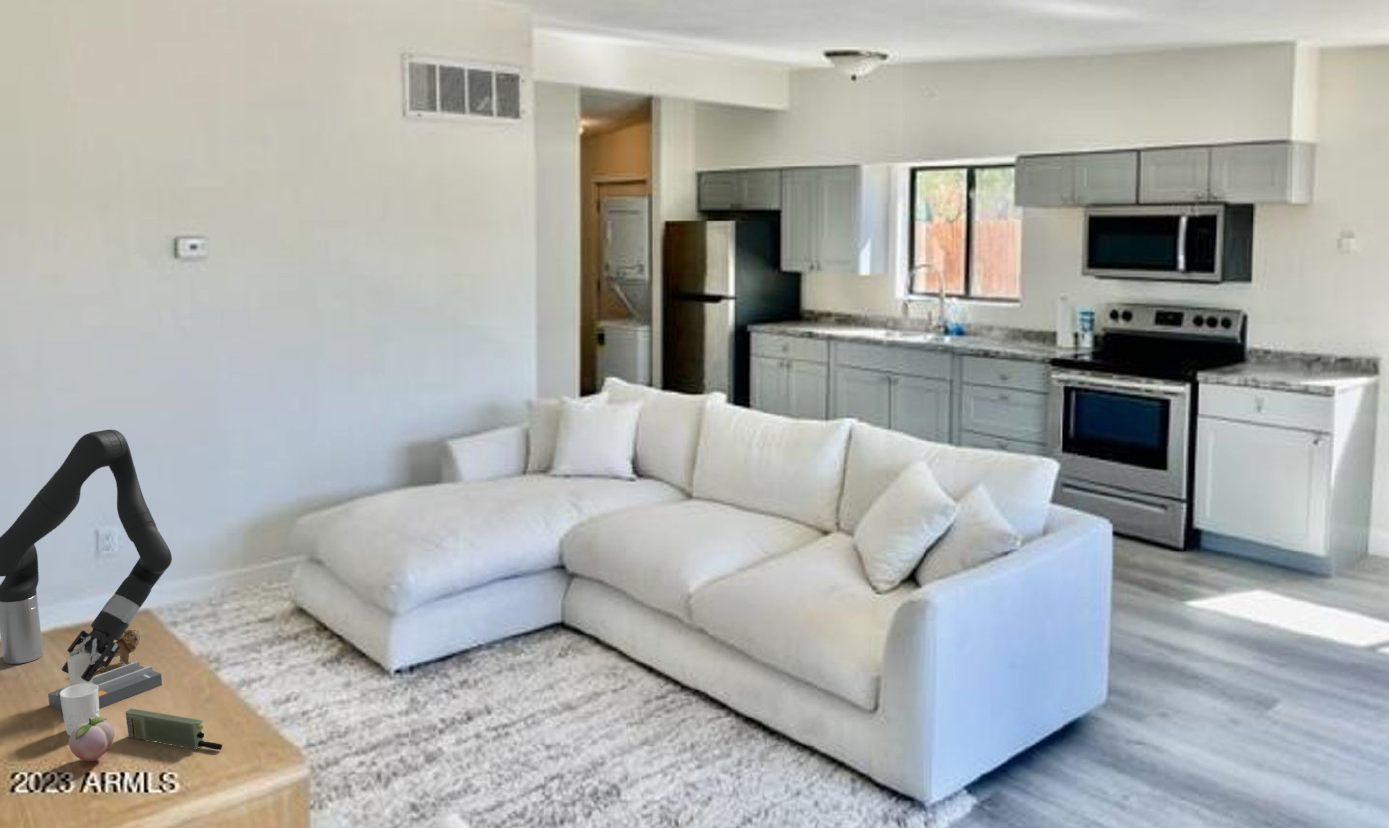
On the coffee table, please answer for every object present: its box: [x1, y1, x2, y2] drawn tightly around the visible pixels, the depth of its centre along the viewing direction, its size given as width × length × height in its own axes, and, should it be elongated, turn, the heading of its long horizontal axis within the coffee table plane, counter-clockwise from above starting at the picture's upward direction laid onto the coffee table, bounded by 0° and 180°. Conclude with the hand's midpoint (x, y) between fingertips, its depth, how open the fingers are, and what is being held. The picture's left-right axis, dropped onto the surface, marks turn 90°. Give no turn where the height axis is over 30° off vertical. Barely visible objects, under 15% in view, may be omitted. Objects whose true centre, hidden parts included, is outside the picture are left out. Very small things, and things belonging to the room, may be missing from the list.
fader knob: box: [66, 652, 93, 686], centre depth 276 cm, size 4×4×9 cm
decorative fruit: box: [68, 716, 115, 762], centre depth 249 cm, size 9×8×10 cm
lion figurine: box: [90, 628, 141, 672], centre depth 299 cm, size 15×5×9 cm, turn 136°
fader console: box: [47, 660, 163, 711], centre depth 282 cm, size 12×22×4 cm, turn 148°
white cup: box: [60, 683, 100, 737], centre depth 263 cm, size 8×8×10 cm
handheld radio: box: [125, 708, 223, 751], centre depth 258 cm, size 7×3×25 cm
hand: (74, 676), depth 275 cm, fingers open, 8 cm apart
